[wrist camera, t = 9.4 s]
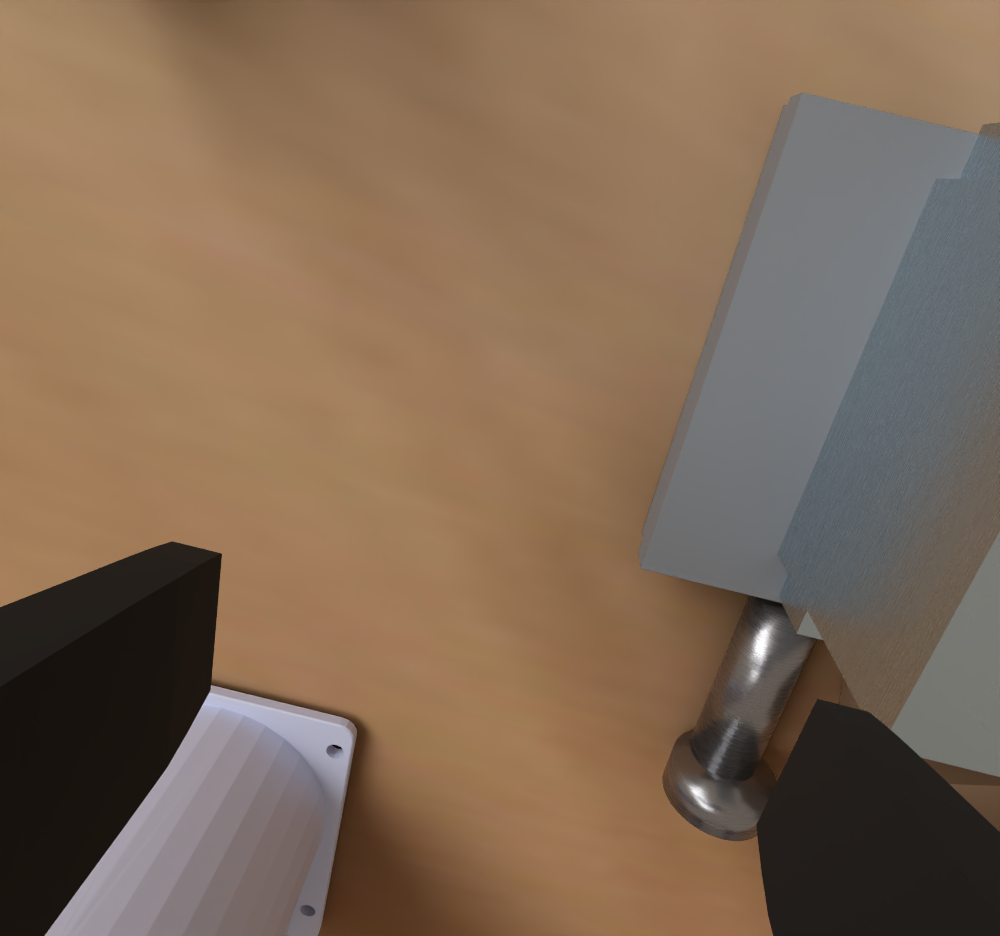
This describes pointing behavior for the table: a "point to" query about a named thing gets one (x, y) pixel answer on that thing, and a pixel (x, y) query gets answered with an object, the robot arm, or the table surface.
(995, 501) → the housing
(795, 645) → the bolt
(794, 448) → the stand
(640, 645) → the table surface
